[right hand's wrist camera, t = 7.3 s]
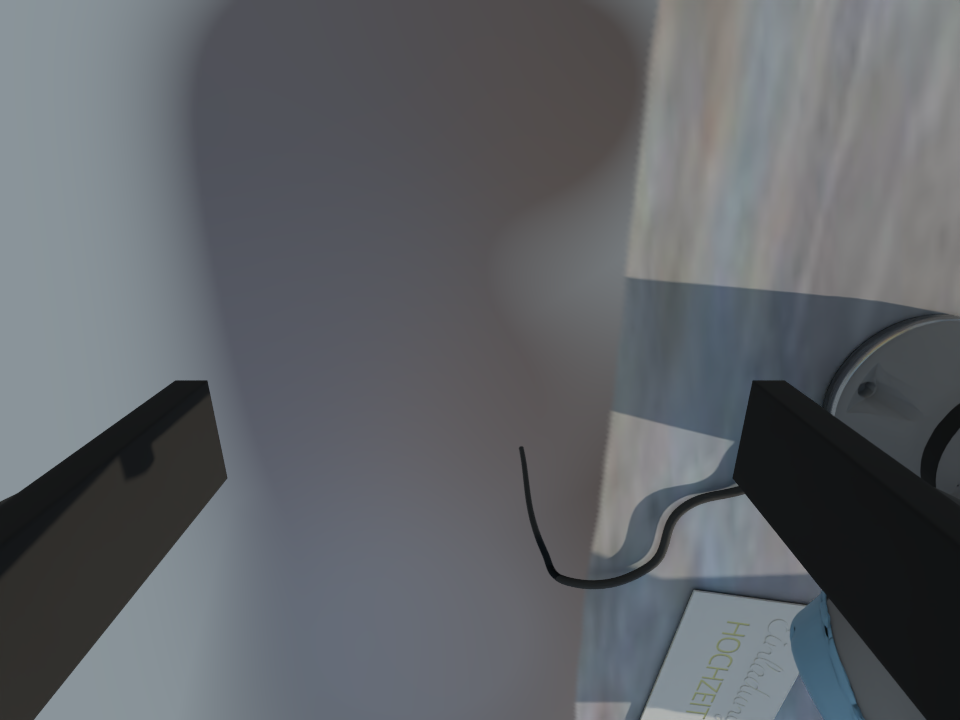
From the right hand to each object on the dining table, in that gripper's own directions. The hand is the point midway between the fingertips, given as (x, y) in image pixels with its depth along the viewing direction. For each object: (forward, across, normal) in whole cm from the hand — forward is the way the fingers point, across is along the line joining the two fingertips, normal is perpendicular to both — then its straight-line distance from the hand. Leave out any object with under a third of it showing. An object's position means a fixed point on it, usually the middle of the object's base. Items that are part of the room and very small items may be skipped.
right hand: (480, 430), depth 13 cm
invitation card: (+30, -27, +46) cm, 61 cm away
